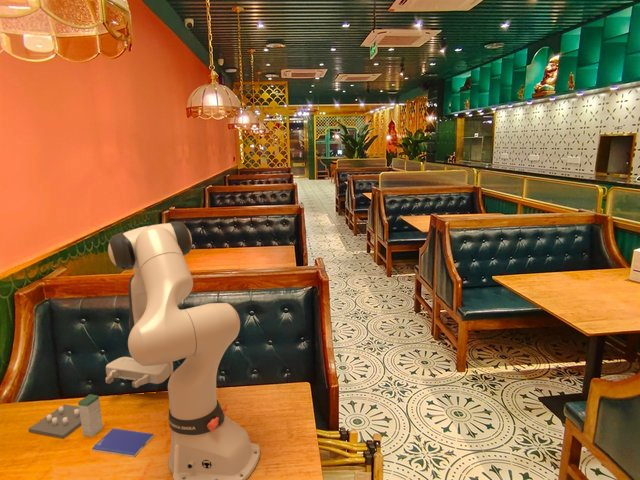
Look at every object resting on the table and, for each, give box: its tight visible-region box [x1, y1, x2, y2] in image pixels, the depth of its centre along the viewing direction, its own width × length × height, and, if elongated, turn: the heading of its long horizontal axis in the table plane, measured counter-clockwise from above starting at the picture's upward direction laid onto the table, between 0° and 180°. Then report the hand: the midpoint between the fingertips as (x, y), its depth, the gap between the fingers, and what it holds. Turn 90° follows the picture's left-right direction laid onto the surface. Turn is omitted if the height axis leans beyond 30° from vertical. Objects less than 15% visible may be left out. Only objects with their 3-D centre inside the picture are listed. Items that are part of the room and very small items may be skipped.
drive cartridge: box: [77, 393, 104, 438], centre depth 117 cm, size 3×4×10 cm
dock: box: [28, 404, 82, 440], centre depth 122 cm, size 12×12×3 cm
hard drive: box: [91, 428, 155, 458], centre depth 113 cm, size 2×8×12 cm
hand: (120, 383), depth 128 cm, fingers open, 8 cm apart
